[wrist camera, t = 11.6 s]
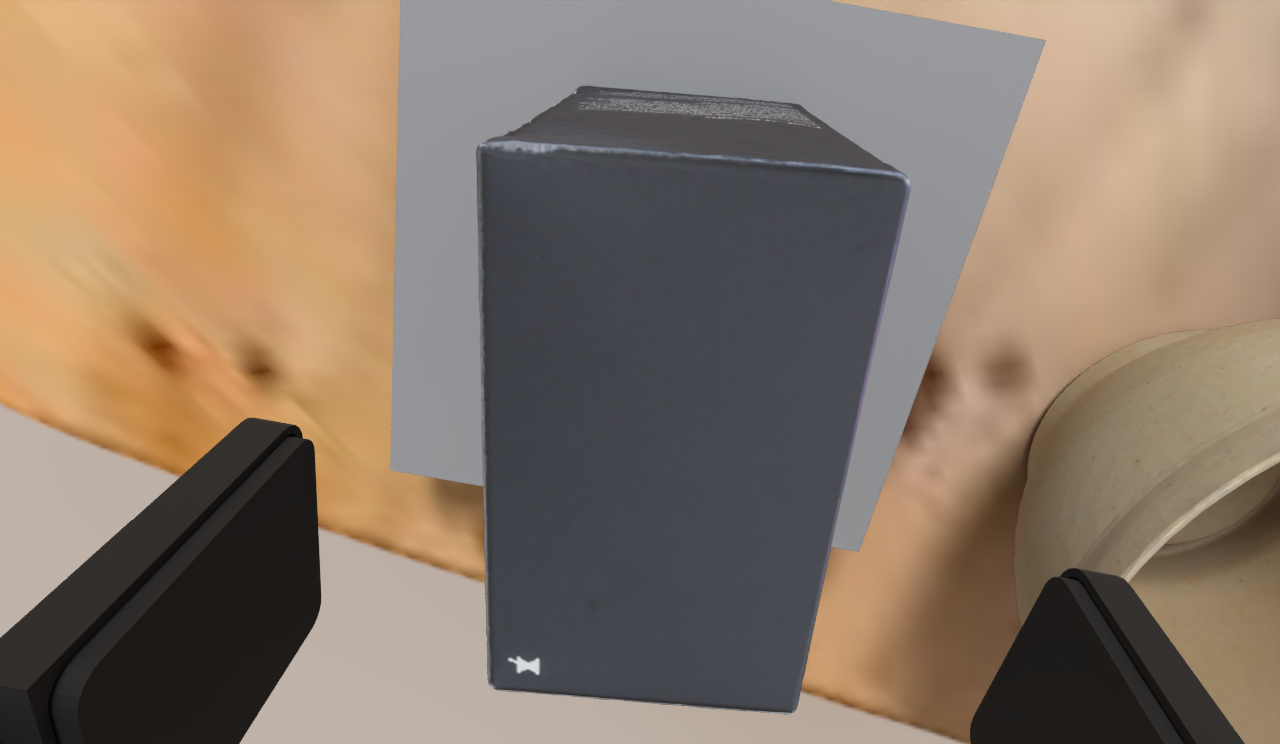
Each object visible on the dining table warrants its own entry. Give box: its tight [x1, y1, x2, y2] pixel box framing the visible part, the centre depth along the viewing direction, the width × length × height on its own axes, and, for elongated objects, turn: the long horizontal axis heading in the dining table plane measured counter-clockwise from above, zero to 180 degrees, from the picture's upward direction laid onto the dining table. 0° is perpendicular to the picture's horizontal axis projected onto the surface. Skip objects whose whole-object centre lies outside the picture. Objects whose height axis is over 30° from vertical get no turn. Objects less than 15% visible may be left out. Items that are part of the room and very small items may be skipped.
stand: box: [390, 0, 1046, 552], centre depth 23 cm, size 16×16×4 cm
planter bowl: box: [1014, 318, 1280, 744], centre depth 22 cm, size 16×16×11 cm
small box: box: [476, 86, 911, 714], centre depth 17 cm, size 11×6×10 cm, turn 176°
